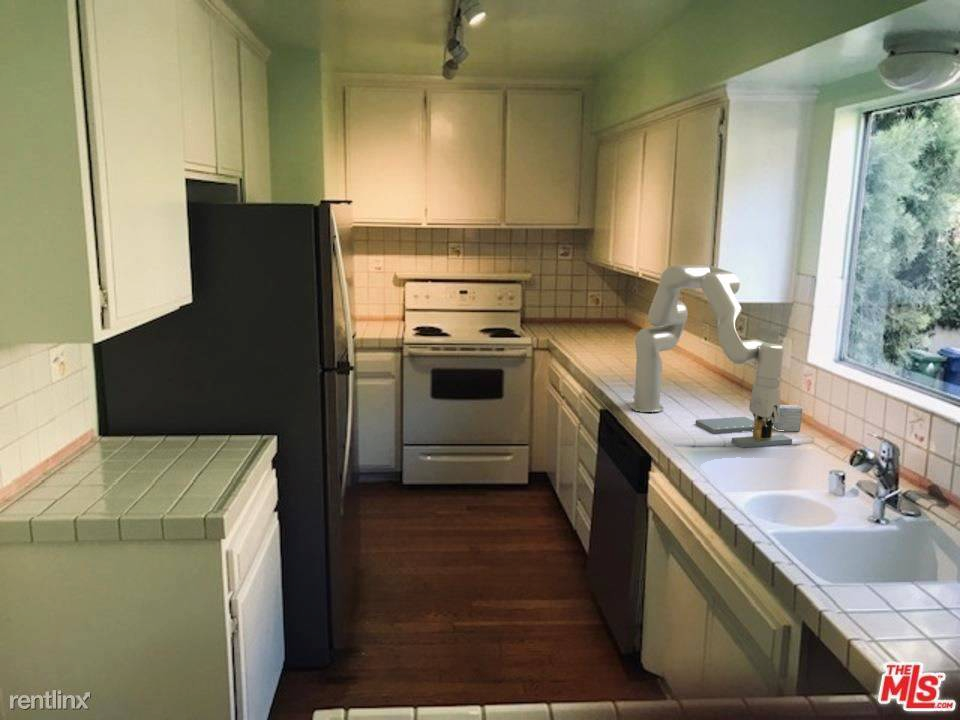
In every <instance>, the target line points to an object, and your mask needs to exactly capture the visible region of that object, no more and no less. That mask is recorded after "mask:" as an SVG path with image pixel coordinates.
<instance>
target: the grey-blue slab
mask: <svg viewBox="0 0 960 720" xmlns="http://www.w3.org/2000/svg"><path fill="white" fill-rule="evenodd" d="M769 420H770V419H768V421H769ZM753 421H754V429H753V431H752V436H751V435H750V436H736V437H731V441H730V442H731V443H732V444H734V445H735V446H737V447H739V448H757V447H765V446H766V447H767V446H769V447H770V446H781V445H782V446H783V445H791V444H793V438H792V437H791V438H790V437H789V436H786V435H784V434H783V433H780V434H773V429H774V428H773V426H772V429H771V437H770V438H762V437H761V435H762V426H764V420H754V419H753Z"/></svg>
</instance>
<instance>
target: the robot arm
mask: <svg viewBox="0 0 960 720" xmlns="http://www.w3.org/2000/svg"><path fill="white" fill-rule="evenodd" d="M740 285H741V284H740V280H739V277H738V276H737V275H736V274H735V273H734V272H732V271H729V270H725V269H721V268H719V267H715V266H712V265H708V264H681V265H679V264H678V265H670V266H669V267H667V268H665V269H664V270H663V271H662V273H661V275H660V279H659V283H658V286H657V289H656V293H655V294H654V298H653V300H652V303H651V304H650V309H649V310H648V314H647V315H648V316H647V320H648V323H649V324H650V325H651V326H649V327H645V328H642V329H640V330H639V331H638V332H636V333H637V334H636V335H635V339H634V341H635V342H634V343H635V344H634V345H635V350H636V354H635V355H636V363H635V365H636V366H635V381H634V383H635V384H634V385H635V386H634V395H632V398H633V400H634V401H633V402H631V403H629V409H630V410H632V409H633V410H632V411H634V410H637V411H640V412H639V413H643V412H652V413H651V414H654V413H653V412H658V413H661V411H662V412H663V411H664V406H663V405H662V404H660V403H661V389H662V375H663V374H662V373H663V371H662V370H663V361H662V358H661V355H660V352H665V351H670V350H672V349H674V348H675V347H677V346H676V345H677V344H678V343H679V340H680V338H681V336H682V333H683V330H684V328H685V325H686V323H687V320H688V314H689V313H688V312H689V311H688V308H687V306H686V304H685V303H684V302H683V301H682V300H681V301H680V298H681V289H683V290H684V289H685V290H691V289H693V290H694V289H701V291H702V294H704V297H705V298H706V300H707V302H708V303H709V305H710V308H711V310H712V311H713V313H714V315H715V317H716V319H717V339H718V342H719V344H720V346H721V348H722V350H723V352H724V355H725V356H726V357H727V359H728V360H730V362H732V363H733V364H736V365H745V364H751V363H756V370H755V371H756V373H755V382H754V383H753V386H752V390H751V394H750V400H749V407H748V408H749V409H748V410H749V411H750V413H751V414H752V415H753V418H754V419H753V421H754V420H764V426H762V435H761V437H762V438H770V437H771V429H772V426H773V424H774V423H777V422H778V421H779V420H778V416H779V411H780V405H781V389H780V388H781V379H782V378H781V377H782V370H783V369H782V368H783V359H784V347H783V346H782V344H781V345H780V344H778V343H777V344H776V343H770V342H766V341H764V340H760V339H756V338H755V339H754V338H752V339H747V340H746V339H743V340H742V339H741V337H740V336H739V334H738V332H737V330H736V320H737V318H738V317H739V315H740V314H741V313H742V311H743V310H742V309H743V308H742V306H741V305H740V304H741V303H740V302H739V301H738V299H737V297H736V294H737V293H738V291H739V289H740ZM637 411H636V412H637ZM768 420H769V421H768ZM772 430H773V429H772Z"/></svg>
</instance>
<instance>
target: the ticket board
mask: <svg viewBox="0 0 960 720" xmlns="http://www.w3.org/2000/svg"><path fill="white" fill-rule="evenodd" d="M695 425H696V426H698V427H700V428H702V429H704V430H706V431H707V432H709V433H711V434H713V435H718V434H719V435H721V434H722V433H723V434H733V433H732V432H738V433H743V432H742V431H752V430H753V429H754V419H751V418H748V417H746V416H736V417H735V416H734V417H721V418H704V419H703V418H702V419H696V420H695ZM752 432H753V431H752Z"/></svg>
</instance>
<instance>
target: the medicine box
mask: <svg viewBox="0 0 960 720" xmlns="http://www.w3.org/2000/svg"><path fill="white" fill-rule="evenodd" d="M803 410H804V409H803V407H801V406H800V405H797V404H780V411H779V416H778V420H779V421H778V422H777V423H774V424H773V427H774V428H776V429H777V430H784V431H800V432H801V427H802V426H801V424H802V416H803ZM774 428H773V429H774Z"/></svg>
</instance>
